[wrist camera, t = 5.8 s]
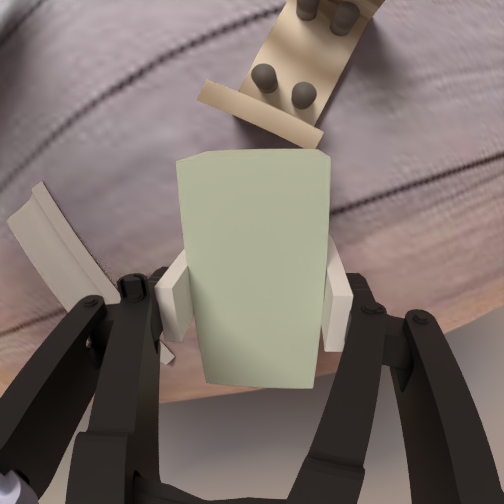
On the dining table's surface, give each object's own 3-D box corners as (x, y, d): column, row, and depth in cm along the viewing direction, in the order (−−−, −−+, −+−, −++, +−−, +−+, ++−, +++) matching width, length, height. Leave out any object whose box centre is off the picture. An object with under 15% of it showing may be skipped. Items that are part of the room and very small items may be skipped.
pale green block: (207, 151, 16) (175, 161, 12) (317, 149, 15) (330, 157, 11) (222, 331, 21) (206, 383, 16) (309, 334, 20) (312, 388, 15)
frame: (301, -18, 22) (305, -79, 11) (371, 14, 22) (409, -34, 11) (231, 110, 28) (196, 100, 17) (303, 144, 29) (313, 153, 18)
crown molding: (176, 352, 42) (168, 368, 39) (128, 372, 46) (120, 386, 43) (45, 180, 34) (28, 186, 31) (14, 226, 38) (-1, 233, 34)
